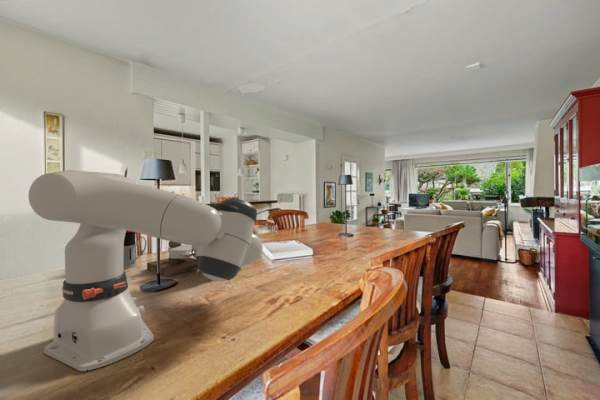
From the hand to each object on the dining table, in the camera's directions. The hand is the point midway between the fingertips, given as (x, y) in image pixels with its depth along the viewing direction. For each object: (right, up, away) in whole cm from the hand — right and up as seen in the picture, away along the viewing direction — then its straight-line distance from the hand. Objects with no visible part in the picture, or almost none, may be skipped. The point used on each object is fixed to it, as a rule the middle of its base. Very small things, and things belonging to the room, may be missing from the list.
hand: (173, 248), depth 118 cm
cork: (+1, -7, 0) cm, 7 cm away
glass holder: (-20, -9, +2) cm, 22 cm away
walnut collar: (+1, -9, 0) cm, 9 cm away
